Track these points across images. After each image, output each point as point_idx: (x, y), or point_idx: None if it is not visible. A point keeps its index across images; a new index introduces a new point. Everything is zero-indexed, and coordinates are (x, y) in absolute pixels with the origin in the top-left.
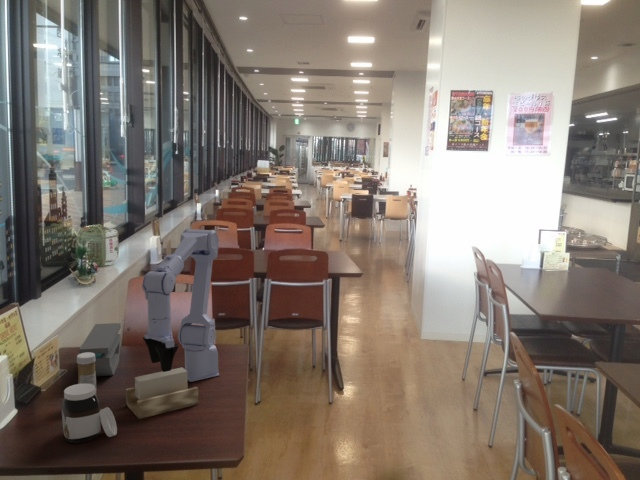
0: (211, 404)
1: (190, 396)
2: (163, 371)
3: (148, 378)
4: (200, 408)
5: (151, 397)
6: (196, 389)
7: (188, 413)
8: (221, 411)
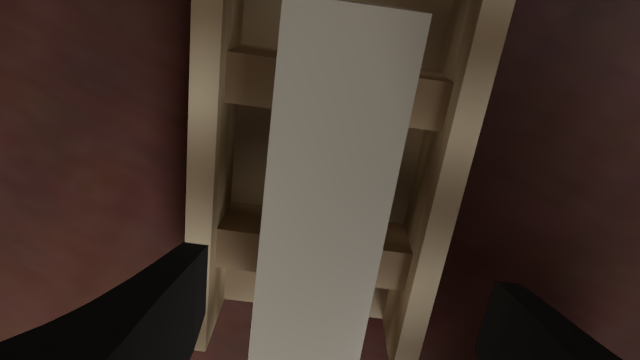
0: None
1: None
2: (177, 246)
3: (301, 111)
4: None
5: (218, 58)
6: None
7: (134, 200)
8: None
